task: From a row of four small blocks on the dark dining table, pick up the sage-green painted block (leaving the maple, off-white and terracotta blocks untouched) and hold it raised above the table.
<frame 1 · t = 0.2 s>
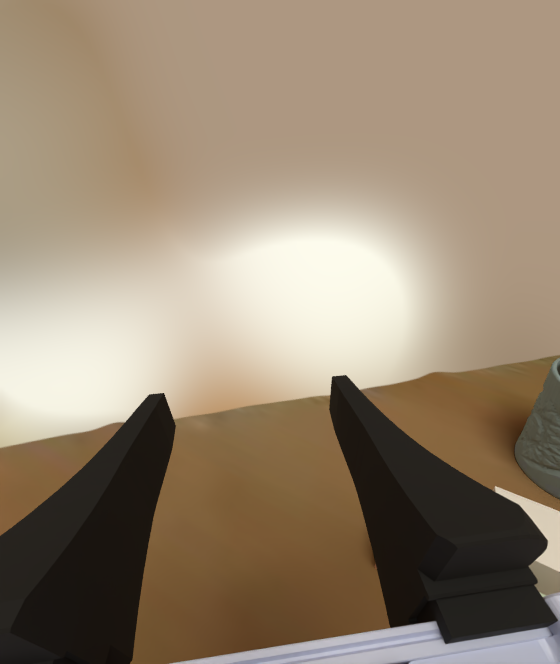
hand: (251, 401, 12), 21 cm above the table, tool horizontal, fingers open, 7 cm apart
offwhite block: (511, 557, 24), on the table
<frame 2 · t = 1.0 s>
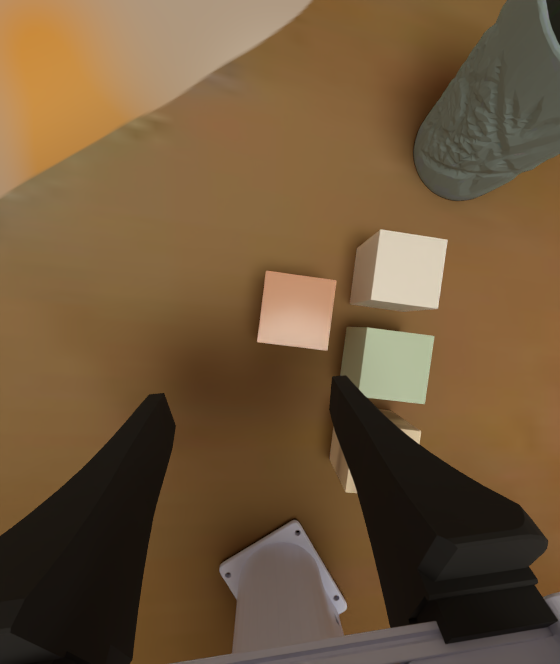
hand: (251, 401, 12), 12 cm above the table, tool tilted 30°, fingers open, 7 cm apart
sage block: (369, 357, 25), on the table
maple block: (359, 434, 25), on the table
terracotta block: (290, 313, 24), on the table
offwhite block: (380, 280, 25), on the table
blue-grey tapered cup: (459, 153, 25), on the table
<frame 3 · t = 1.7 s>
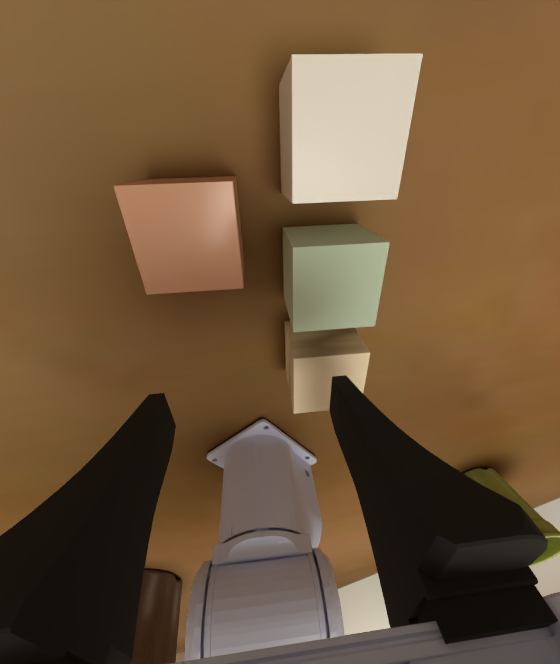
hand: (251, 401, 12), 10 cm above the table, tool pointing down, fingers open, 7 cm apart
sage block: (318, 262, 20), on the table
maple block: (314, 344, 23), on the table
terracotta block: (200, 222, 17), on the table
plant pot 2: (471, 478, 38), on the table
plant pot: (143, 581, 45), on the table
offwhite block: (323, 142, 16), on the table
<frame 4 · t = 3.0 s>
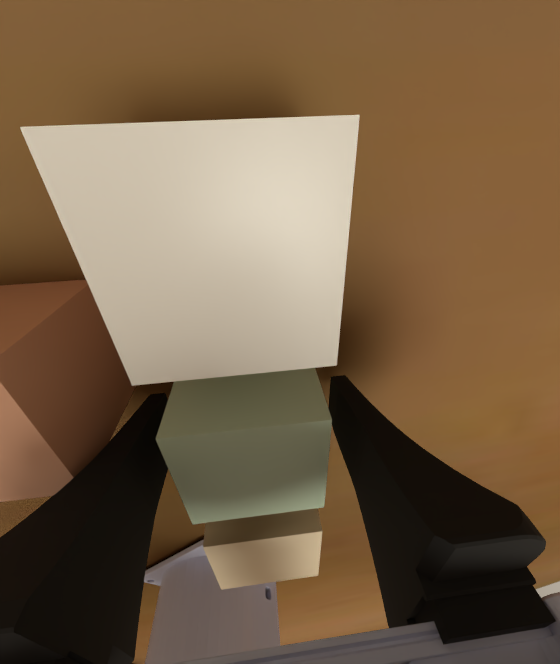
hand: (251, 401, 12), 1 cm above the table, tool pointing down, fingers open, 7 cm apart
sage block: (251, 378, 13), on the table
maple block: (262, 463, 17), on the table
terracotta block: (55, 341, 11), on the table, touching gripper
offwhite block: (232, 226, 10), on the table
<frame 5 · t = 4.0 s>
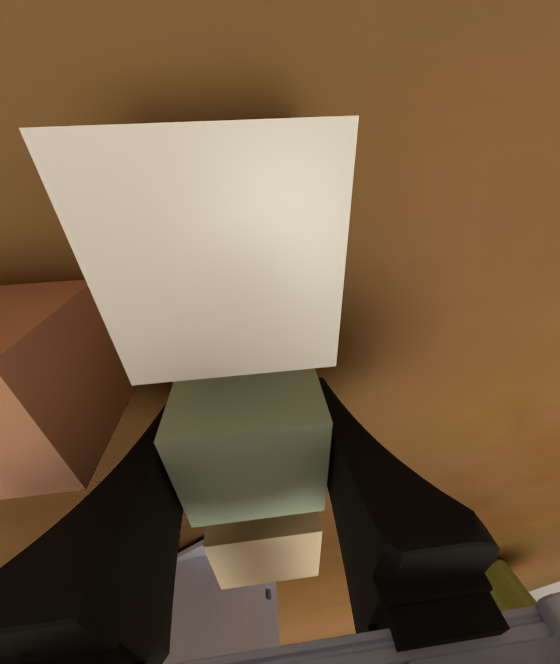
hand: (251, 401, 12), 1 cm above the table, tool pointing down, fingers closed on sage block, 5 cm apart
sage block: (251, 379, 13), on the table, touching gripper
maple block: (262, 463, 17), on the table
terracotta block: (57, 340, 11), on the table
plant pot 2: (475, 566, 32), on the table
offwhite block: (232, 226, 10), on the table
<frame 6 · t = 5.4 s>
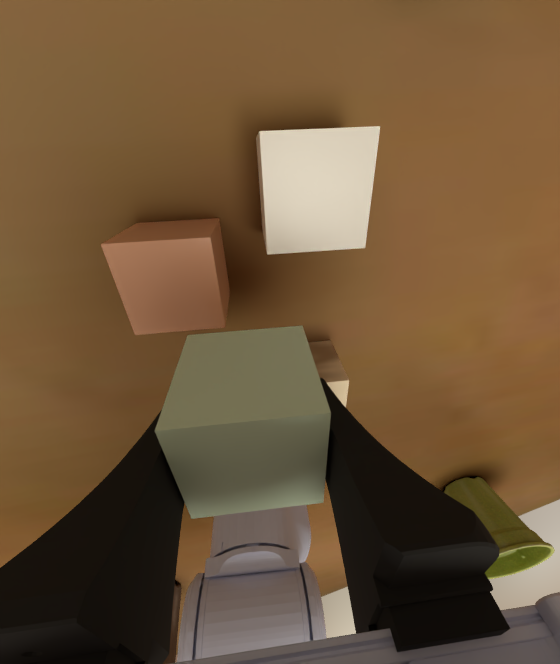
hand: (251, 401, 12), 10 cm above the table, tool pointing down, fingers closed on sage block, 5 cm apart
sage block: (251, 374, 13), point 8 cm above the table, touching gripper
maple block: (300, 365, 24), on the table
terracotta block: (187, 259, 19), on the table
plant pot 2: (460, 486, 39), on the table
plant pot: (144, 586, 46), on the table
offwhite block: (300, 186, 17), on the table
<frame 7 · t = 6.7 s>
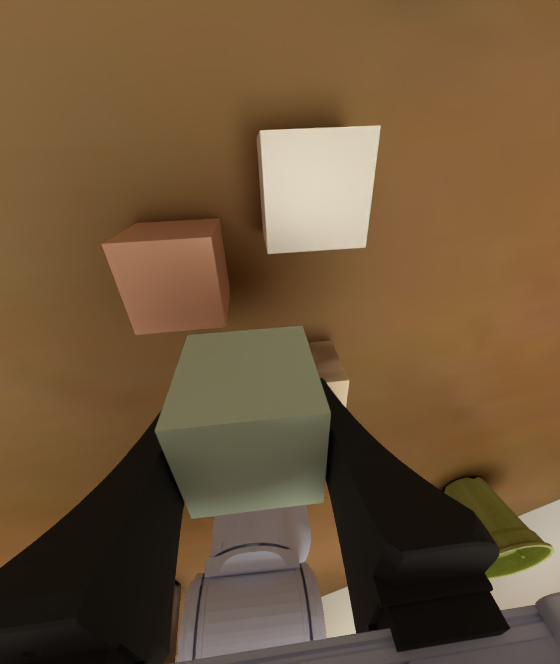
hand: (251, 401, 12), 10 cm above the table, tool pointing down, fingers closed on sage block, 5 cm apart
sage block: (251, 374, 13), point 8 cm above the table, touching gripper
maple block: (300, 365, 24), on the table
terracotta block: (187, 259, 19), on the table
plant pot 2: (460, 486, 39), on the table
plant pot: (144, 586, 46), on the table
offwhite block: (300, 186, 17), on the table
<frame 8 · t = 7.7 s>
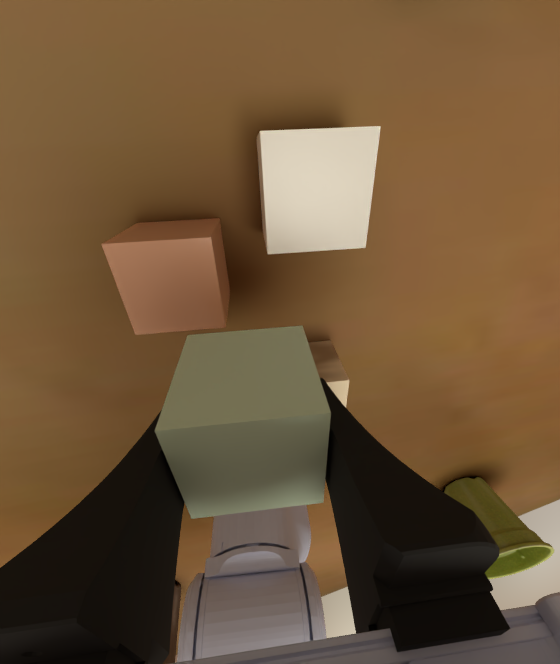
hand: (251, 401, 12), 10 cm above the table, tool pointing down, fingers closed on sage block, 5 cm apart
sage block: (251, 374, 13), point 8 cm above the table, touching gripper
maple block: (300, 365, 24), on the table
terracotta block: (187, 259, 19), on the table
plant pot 2: (460, 486, 39), on the table
plant pot: (144, 586, 46), on the table
offwhite block: (300, 186, 17), on the table
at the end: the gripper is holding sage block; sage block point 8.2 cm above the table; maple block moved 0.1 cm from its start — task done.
